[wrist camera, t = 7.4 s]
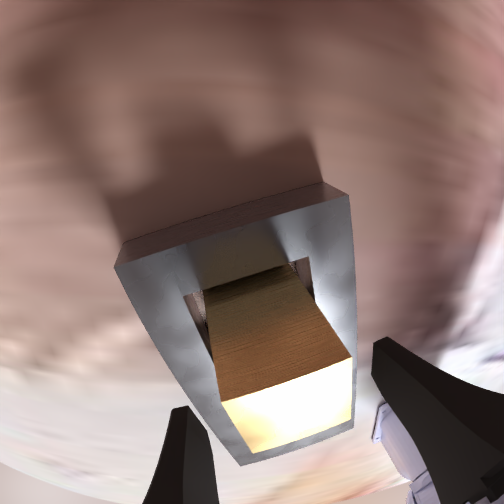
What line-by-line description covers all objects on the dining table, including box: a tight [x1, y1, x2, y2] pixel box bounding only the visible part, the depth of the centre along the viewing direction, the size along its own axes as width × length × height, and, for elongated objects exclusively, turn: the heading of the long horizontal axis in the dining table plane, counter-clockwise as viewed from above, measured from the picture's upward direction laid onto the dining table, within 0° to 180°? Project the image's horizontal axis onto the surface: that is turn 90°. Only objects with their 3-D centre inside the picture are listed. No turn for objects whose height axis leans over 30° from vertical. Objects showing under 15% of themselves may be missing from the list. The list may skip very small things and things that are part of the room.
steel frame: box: [114, 182, 357, 466], centre depth 17 cm, size 20×10×2 cm, turn 14°
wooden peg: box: [203, 263, 352, 453], centre depth 12 cm, size 4×4×8 cm
